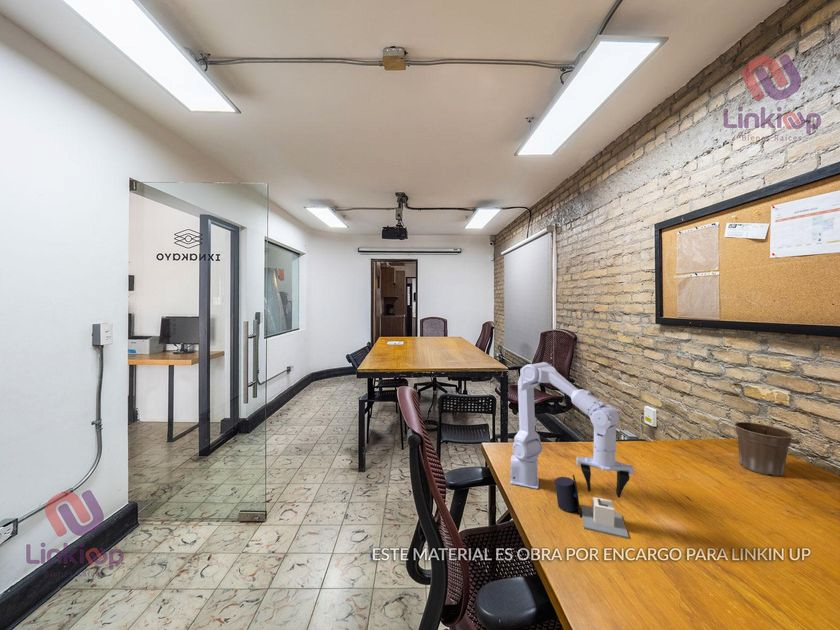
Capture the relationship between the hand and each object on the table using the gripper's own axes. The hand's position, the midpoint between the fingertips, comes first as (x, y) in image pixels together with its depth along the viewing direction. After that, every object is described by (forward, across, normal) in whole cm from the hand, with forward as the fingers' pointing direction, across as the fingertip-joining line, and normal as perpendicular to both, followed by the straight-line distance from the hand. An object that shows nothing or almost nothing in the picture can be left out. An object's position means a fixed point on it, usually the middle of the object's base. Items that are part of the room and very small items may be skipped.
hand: (603, 493), depth 97 cm
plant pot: (+9, +64, +61) cm, 88 cm away
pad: (+9, 0, 0) cm, 9 cm away
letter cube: (+8, 0, 0) cm, 8 cm away
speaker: (+9, -9, +3) cm, 13 cm away
